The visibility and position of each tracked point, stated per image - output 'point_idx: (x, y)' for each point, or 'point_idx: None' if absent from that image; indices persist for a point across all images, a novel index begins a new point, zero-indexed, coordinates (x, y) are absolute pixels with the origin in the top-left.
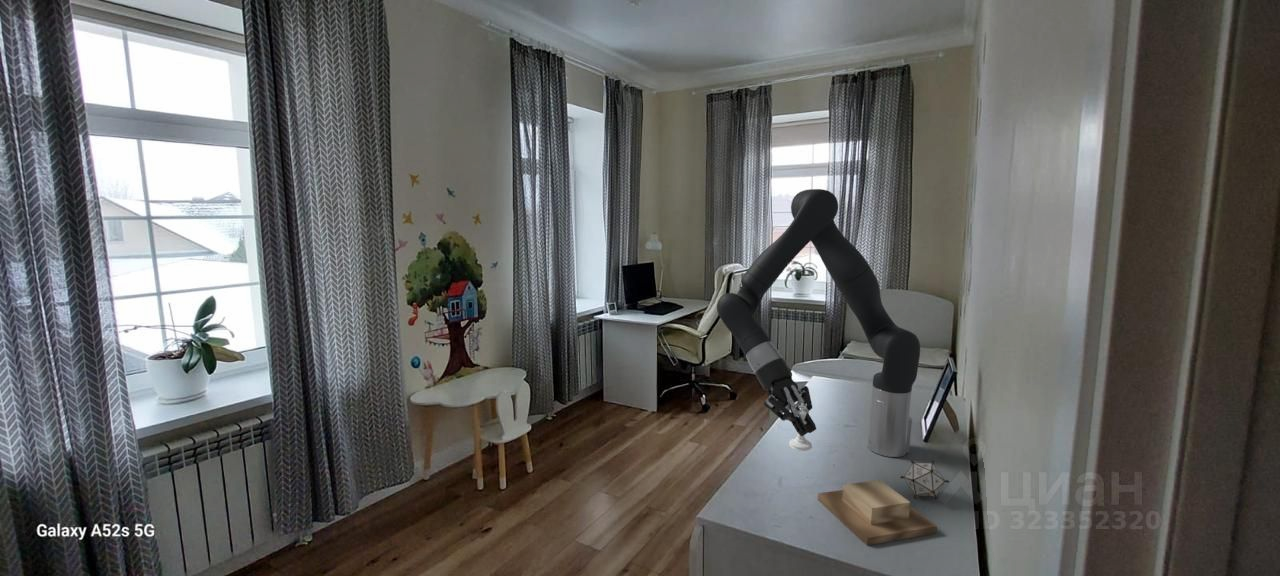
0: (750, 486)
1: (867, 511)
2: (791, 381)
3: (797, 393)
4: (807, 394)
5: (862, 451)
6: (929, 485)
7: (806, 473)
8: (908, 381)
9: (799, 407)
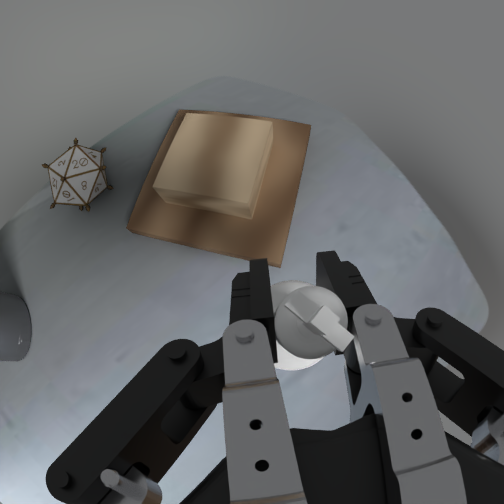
0: None
1: (270, 139)
2: None
3: (251, 478)
4: (106, 438)
5: (41, 353)
6: (96, 153)
7: None
8: None
9: (344, 329)
